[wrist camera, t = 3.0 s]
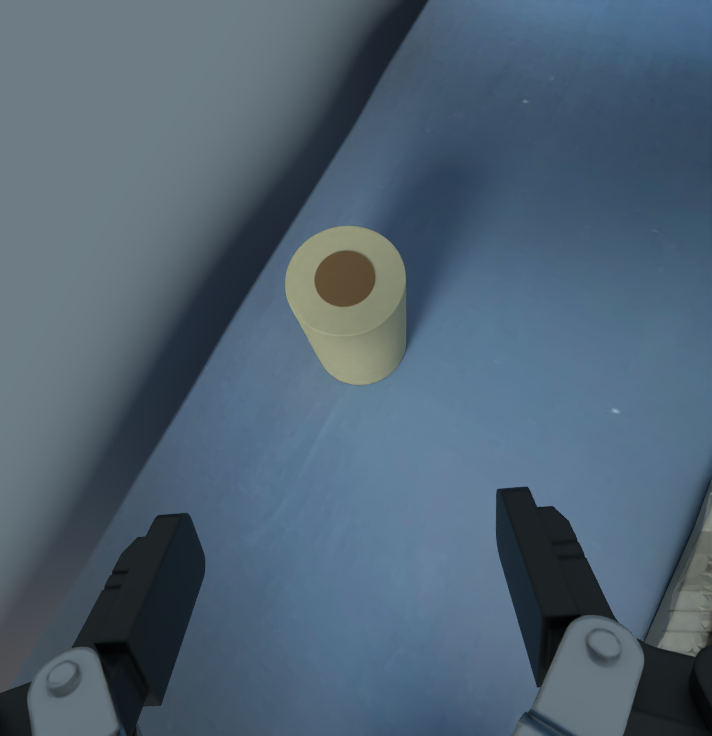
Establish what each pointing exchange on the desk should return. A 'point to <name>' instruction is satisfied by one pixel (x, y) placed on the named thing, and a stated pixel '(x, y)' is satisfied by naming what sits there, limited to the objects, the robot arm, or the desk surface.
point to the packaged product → (688, 594)
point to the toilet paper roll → (350, 302)
